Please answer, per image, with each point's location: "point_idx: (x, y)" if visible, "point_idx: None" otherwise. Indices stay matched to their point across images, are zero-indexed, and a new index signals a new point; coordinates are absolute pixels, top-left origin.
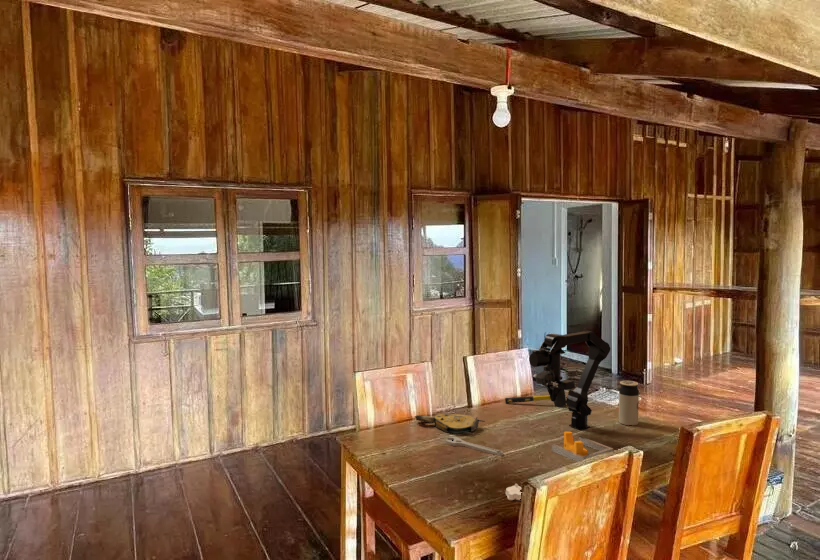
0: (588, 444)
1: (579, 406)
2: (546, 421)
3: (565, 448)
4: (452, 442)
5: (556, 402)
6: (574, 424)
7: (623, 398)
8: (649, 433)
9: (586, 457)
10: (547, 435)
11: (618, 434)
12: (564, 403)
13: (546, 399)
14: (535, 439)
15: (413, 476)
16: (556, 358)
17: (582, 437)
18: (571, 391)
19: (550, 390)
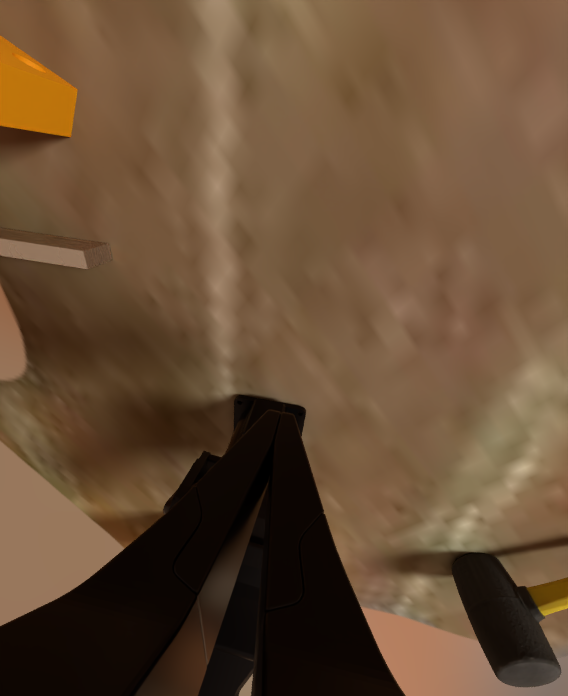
0: (37, 236)
1: (176, 494)
2: (430, 396)
3: (45, 68)
4: None
5: (491, 573)
6: (261, 408)
7: None
8: (105, 490)
9: None
10: (291, 204)
11: (133, 439)
12: (456, 576)
13: (552, 582)
14: (295, 33)
15: None
16: None
17: (71, 260)
18: (247, 641)
19: (264, 590)
